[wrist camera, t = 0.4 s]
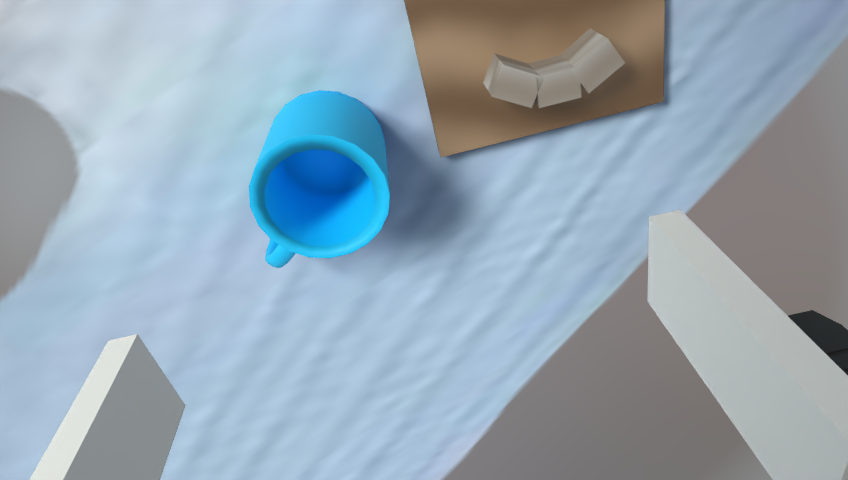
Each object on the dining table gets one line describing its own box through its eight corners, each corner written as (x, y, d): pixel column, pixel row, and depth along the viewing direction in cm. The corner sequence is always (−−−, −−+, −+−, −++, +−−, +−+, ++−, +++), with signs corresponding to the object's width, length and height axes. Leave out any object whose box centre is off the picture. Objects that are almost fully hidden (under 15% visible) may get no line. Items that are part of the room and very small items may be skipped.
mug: (301, 66, 36) (287, 107, 29) (406, 128, 39) (416, 178, 32) (228, 205, 41) (200, 268, 34) (326, 251, 44) (319, 318, 37)
